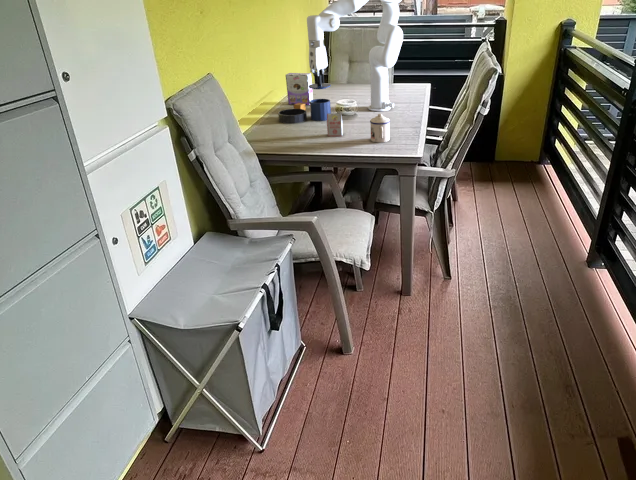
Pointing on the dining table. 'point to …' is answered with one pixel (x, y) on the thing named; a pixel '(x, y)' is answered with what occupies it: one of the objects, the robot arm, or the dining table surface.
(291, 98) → the candy box
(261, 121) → the dining table surface
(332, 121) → the white printed carton
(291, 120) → the pan
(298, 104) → the block
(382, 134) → the teacup with lid
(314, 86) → the lid
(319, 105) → the pot
